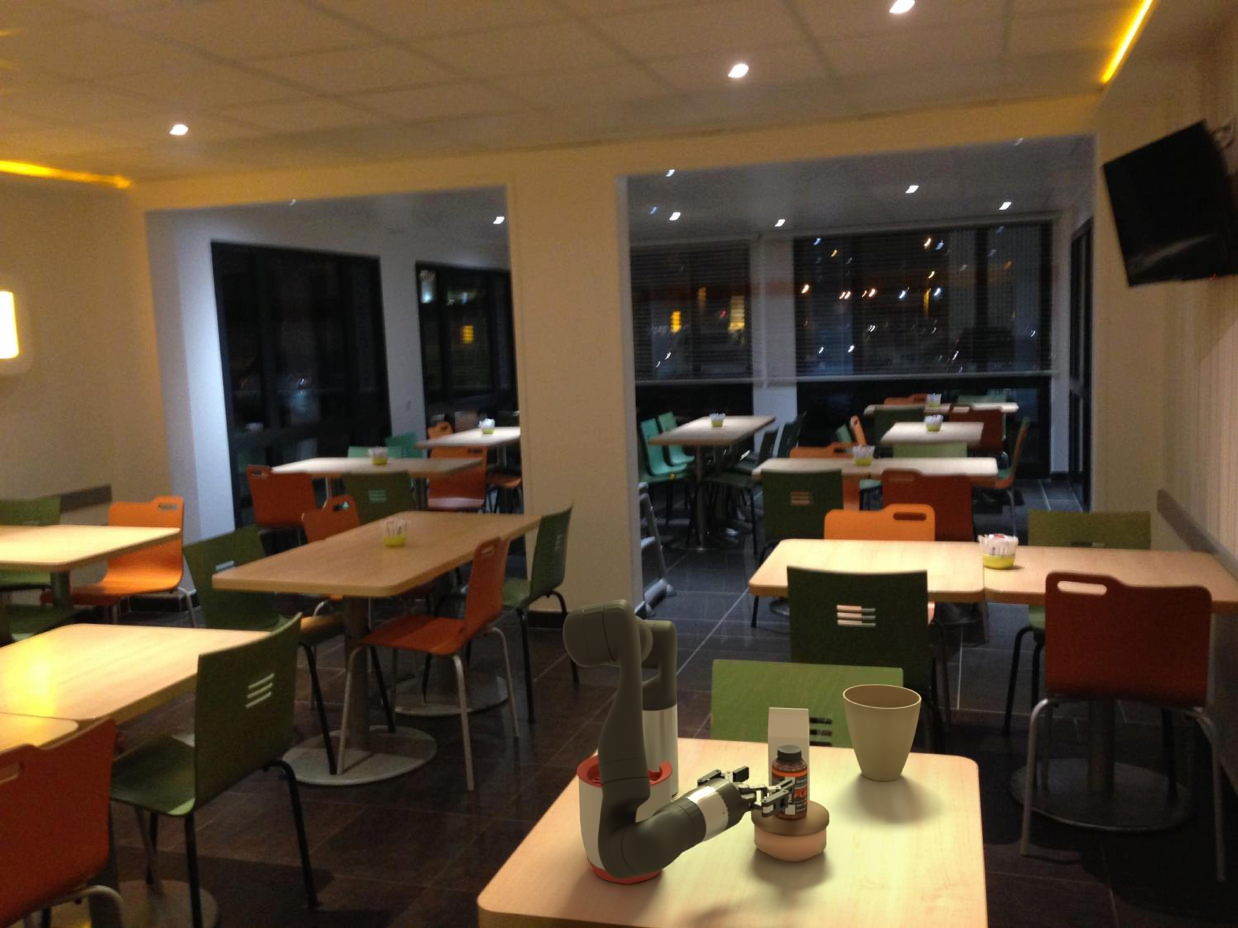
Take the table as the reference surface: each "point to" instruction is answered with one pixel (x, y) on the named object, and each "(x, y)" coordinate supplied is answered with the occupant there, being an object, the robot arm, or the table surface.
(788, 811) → the supplement bottle
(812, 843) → the terracotta bowl
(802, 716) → the milk carton
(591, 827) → the citrus juicer
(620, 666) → the robot arm
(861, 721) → the plant pot
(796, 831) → the walnut lid
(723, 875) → the table surface
